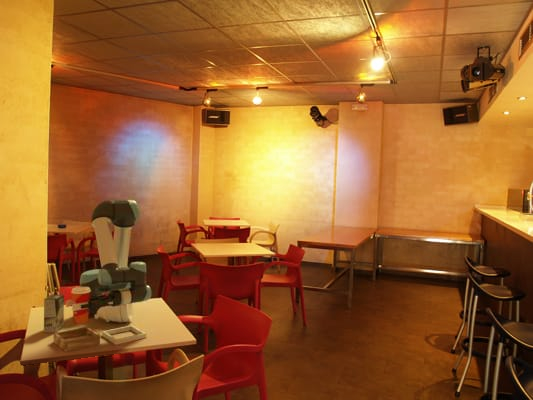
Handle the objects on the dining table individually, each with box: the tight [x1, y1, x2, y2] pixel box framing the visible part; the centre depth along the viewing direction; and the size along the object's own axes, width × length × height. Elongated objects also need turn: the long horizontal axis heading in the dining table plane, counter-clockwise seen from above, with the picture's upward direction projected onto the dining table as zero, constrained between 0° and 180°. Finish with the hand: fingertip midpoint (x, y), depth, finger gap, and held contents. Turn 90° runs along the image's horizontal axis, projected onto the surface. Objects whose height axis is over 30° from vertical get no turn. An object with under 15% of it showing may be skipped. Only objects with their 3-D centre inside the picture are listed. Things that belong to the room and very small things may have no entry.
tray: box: [101, 324, 147, 346], centre depth 213 cm, size 15×15×2 cm
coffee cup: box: [70, 286, 91, 324], centre depth 203 cm, size 8×8×15 cm
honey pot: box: [94, 303, 134, 324], centre depth 234 cm, size 13×13×18 cm
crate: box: [53, 326, 101, 353], centre depth 203 cm, size 15×15×4 cm
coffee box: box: [43, 294, 65, 333], centre depth 220 cm, size 9×6×16 cm
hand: (69, 305), depth 199 cm, fingers closed on coffee cup, 7 cm apart
